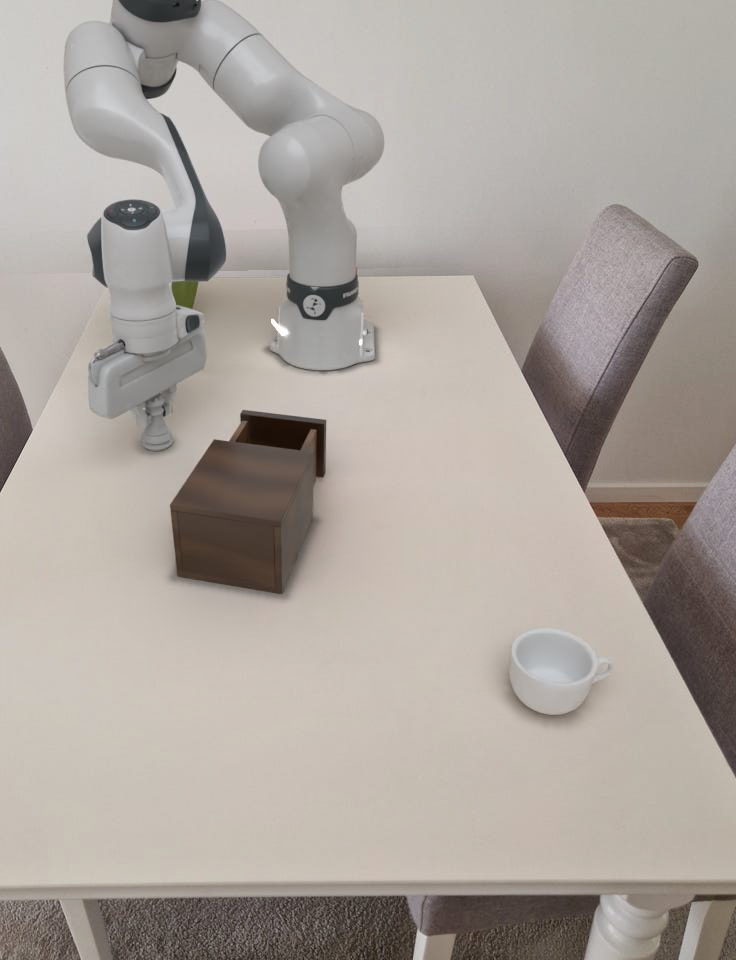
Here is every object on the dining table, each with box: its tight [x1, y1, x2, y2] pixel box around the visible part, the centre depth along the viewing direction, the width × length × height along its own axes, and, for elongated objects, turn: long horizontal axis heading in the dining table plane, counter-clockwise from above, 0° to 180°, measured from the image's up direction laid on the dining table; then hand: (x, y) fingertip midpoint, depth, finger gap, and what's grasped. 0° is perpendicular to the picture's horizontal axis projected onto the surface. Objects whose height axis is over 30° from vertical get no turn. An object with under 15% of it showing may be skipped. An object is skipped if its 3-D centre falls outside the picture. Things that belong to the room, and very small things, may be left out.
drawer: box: [228, 409, 327, 488], centre depth 109 cm, size 18×11×8 cm, turn 165°
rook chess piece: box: [141, 393, 174, 452], centre depth 120 cm, size 4×4×8 cm
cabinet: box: [169, 438, 314, 595], centre depth 99 cm, size 15×13×10 cm
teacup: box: [508, 627, 615, 716], centre depth 80 cm, size 10×8×5 cm
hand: (155, 419), depth 120 cm, fingers closed on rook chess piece, 3 cm apart
